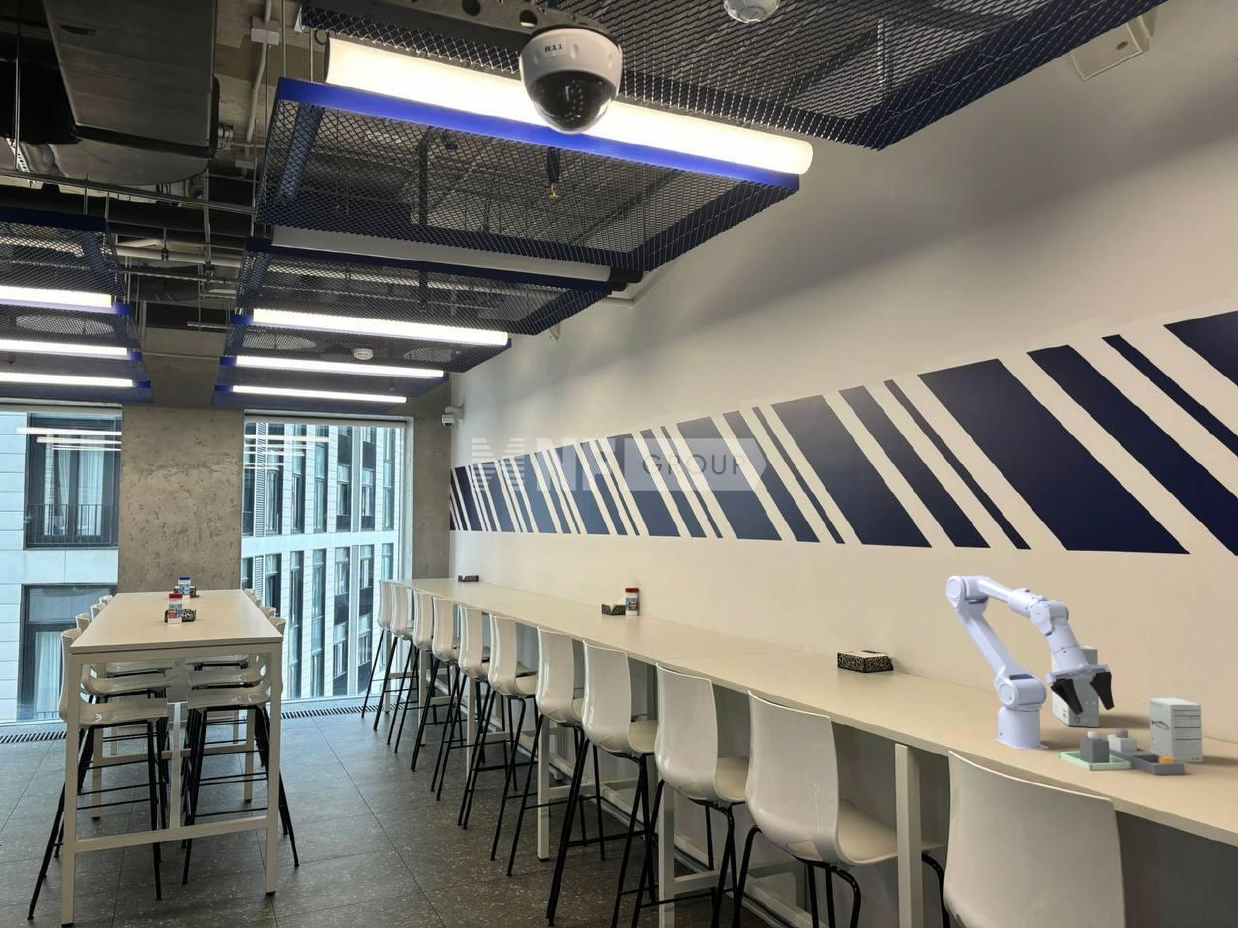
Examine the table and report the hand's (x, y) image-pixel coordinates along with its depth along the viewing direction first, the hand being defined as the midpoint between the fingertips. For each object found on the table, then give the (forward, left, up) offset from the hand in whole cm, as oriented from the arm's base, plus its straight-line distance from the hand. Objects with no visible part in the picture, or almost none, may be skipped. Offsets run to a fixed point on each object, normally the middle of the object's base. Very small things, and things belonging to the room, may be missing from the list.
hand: (1095, 711), depth 189 cm
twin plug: (-6, +11, -12) cm, 17 cm away
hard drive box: (-43, +26, -12) cm, 52 cm away
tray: (-2, +1, -12) cm, 12 cm away
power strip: (-1, +11, -12) cm, 16 cm away
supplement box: (-5, +24, -12) cm, 27 cm away
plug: (-2, +1, -12) cm, 12 cm away
